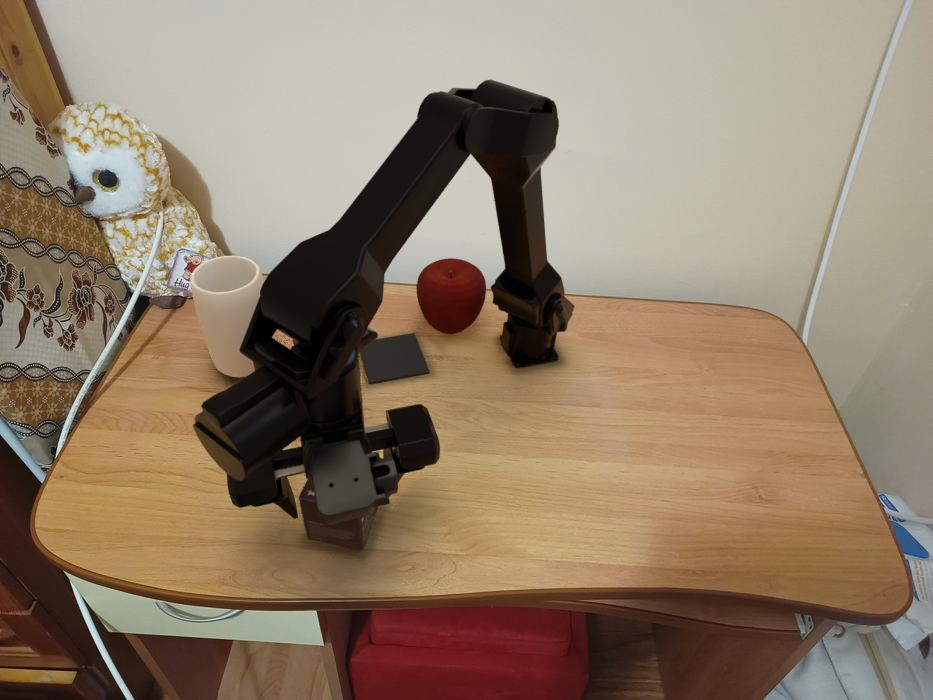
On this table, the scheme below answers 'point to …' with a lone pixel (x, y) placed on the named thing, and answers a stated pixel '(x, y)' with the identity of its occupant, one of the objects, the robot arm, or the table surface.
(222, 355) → the cup
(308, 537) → the box
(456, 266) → the apple
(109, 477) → the table surface
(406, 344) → the coaster
